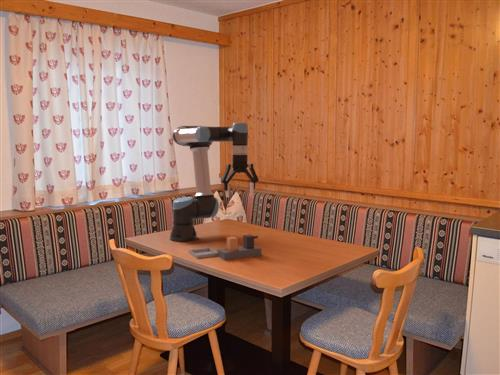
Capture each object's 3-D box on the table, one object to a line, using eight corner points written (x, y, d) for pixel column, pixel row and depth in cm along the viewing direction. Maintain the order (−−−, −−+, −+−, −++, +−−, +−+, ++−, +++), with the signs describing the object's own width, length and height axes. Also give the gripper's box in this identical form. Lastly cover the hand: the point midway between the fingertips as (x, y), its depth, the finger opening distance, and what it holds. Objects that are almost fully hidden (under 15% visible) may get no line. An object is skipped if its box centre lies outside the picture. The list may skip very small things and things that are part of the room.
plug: (226, 257, 227) (226, 237, 225) (234, 256, 228) (234, 236, 227) (230, 259, 223) (230, 239, 222) (237, 258, 225) (237, 238, 224)
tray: (188, 253, 232) (188, 249, 232) (209, 251, 237) (209, 247, 237) (196, 259, 222) (196, 255, 222) (218, 256, 227) (218, 252, 227)
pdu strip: (217, 257, 227) (217, 237, 225) (253, 252, 236) (253, 233, 234) (224, 261, 220) (224, 240, 218) (261, 256, 229) (261, 236, 227)
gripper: (220, 155, 221) (220, 198, 224) (265, 153, 232) (265, 195, 235) (213, 154, 228) (214, 196, 230) (258, 153, 239) (258, 193, 242)
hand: (239, 196), depth 233 cm, fingers open, 13 cm apart
